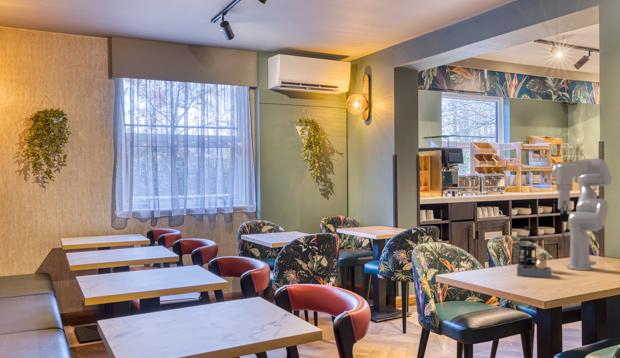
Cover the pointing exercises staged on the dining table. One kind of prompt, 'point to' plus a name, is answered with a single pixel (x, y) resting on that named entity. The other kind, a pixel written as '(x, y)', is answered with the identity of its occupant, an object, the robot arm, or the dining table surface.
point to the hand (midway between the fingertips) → (564, 220)
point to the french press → (527, 251)
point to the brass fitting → (541, 264)
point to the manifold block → (533, 271)
